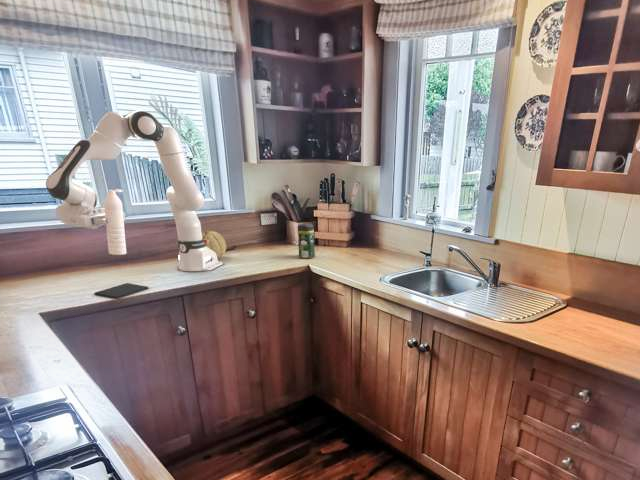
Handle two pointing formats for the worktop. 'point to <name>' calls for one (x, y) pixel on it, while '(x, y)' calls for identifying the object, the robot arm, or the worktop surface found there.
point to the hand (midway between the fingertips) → (114, 220)
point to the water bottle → (115, 223)
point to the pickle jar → (306, 240)
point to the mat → (121, 290)
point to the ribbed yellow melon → (215, 242)
